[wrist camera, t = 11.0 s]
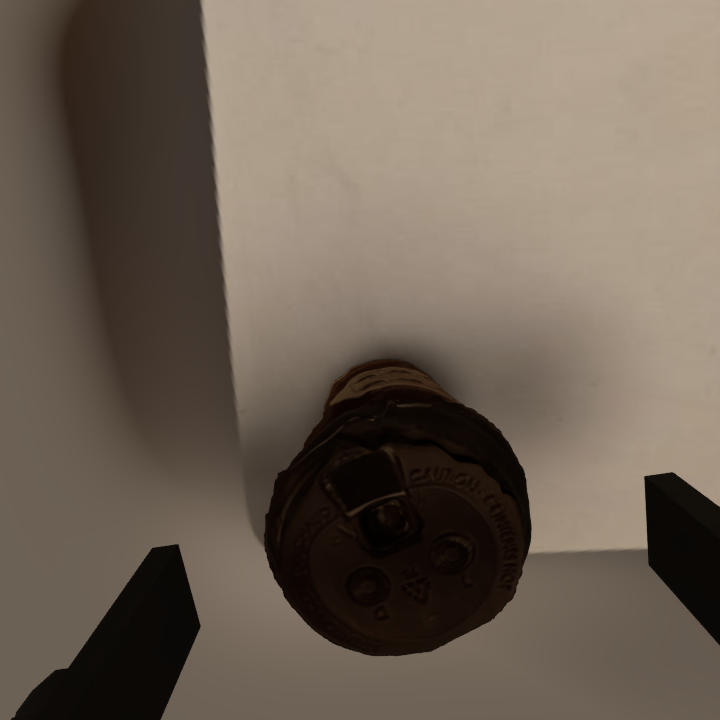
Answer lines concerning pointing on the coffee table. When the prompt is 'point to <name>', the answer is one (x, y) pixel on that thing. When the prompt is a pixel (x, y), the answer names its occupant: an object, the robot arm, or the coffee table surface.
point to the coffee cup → (398, 516)
